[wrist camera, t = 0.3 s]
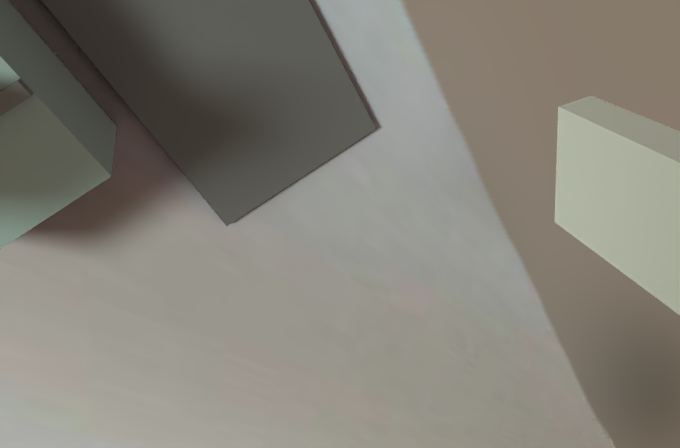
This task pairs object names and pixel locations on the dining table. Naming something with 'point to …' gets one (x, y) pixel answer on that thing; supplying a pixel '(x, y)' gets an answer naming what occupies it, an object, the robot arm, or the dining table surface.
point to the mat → (225, 88)
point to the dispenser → (44, 131)
